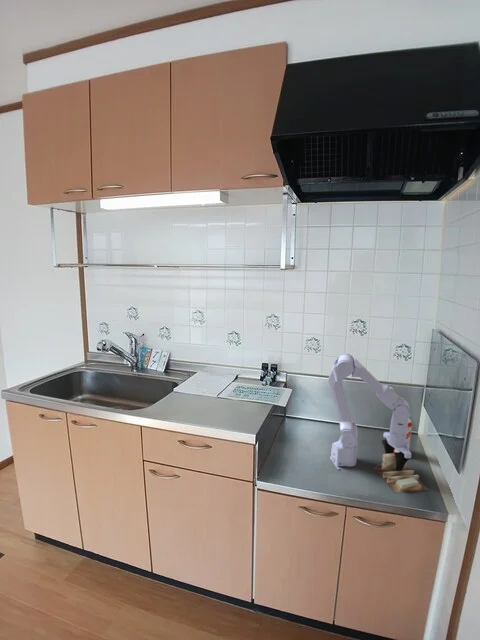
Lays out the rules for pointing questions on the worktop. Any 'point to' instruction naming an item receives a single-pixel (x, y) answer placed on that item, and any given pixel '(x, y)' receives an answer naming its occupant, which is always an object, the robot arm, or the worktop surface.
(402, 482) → the offcut top
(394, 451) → the beer can
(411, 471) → the rack
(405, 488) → the block
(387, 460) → the tan wooden block
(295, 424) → the worktop surface
